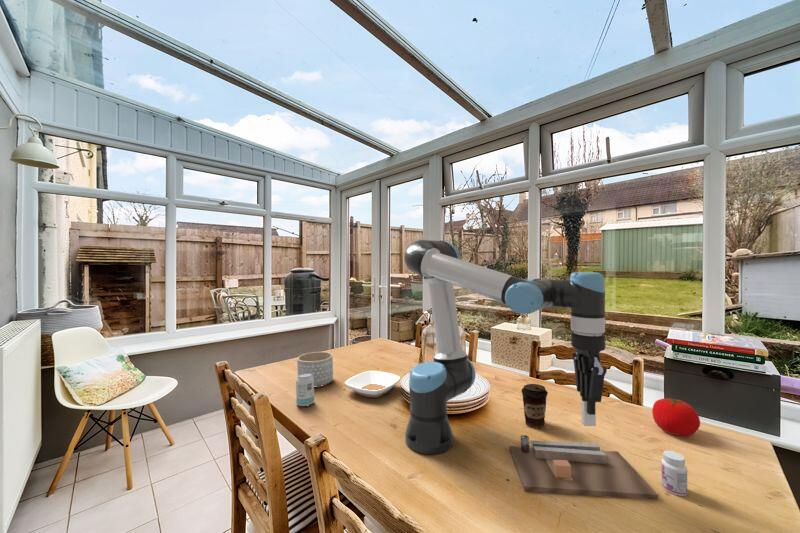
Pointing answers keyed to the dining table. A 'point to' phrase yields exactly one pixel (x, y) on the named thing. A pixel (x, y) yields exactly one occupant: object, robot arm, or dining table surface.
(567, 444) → the bar
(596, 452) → the bar
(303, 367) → the planter
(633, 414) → the dining table surface
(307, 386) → the beverage can
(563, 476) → the block
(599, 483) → the board
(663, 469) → the pill bottle
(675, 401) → the tomato
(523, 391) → the coffee cup
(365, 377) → the bowl
